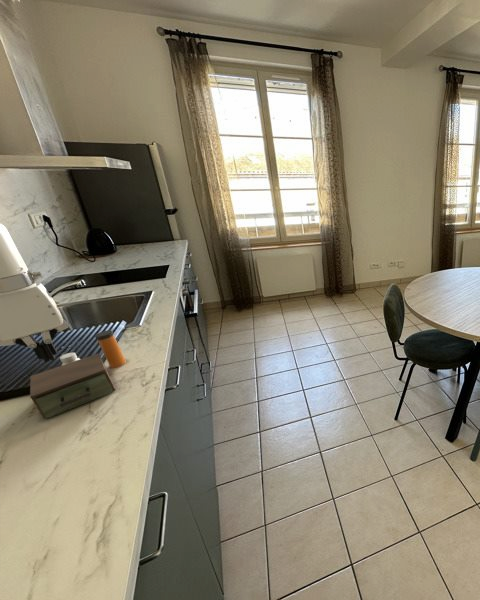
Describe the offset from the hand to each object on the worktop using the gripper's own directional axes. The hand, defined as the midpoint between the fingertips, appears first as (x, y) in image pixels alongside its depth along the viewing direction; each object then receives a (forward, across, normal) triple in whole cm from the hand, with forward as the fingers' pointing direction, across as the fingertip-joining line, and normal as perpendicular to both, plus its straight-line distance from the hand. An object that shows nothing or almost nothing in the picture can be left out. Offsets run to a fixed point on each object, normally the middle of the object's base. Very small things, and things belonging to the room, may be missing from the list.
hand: (50, 358), depth 74 cm
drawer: (+18, 0, -13) cm, 22 cm away
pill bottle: (+19, -1, -30) cm, 36 cm away
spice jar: (+19, -10, -27) cm, 35 cm away
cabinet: (+19, 0, -17) cm, 26 cm away
